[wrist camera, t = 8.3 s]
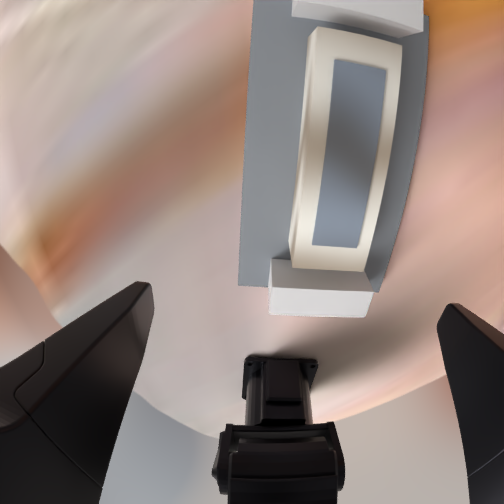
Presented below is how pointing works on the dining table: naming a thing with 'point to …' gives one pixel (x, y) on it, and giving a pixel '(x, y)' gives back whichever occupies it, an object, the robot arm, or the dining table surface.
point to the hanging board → (287, 147)
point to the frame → (343, 148)
